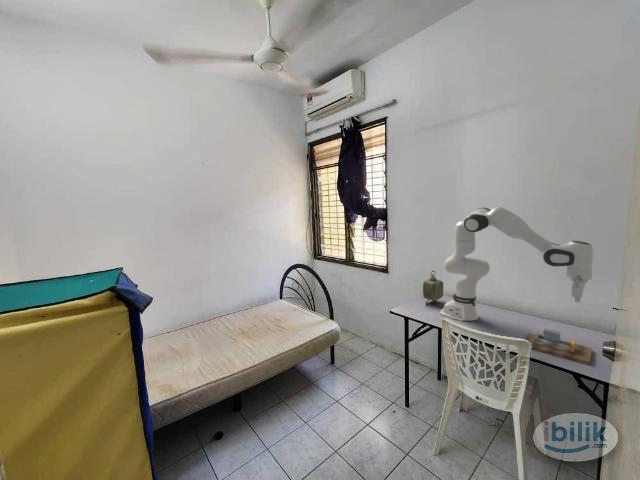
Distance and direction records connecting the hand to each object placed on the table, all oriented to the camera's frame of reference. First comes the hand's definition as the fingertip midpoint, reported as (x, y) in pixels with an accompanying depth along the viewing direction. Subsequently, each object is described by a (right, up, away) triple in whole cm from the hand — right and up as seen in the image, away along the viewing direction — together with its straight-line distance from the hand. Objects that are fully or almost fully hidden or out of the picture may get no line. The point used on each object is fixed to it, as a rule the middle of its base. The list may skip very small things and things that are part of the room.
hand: (577, 301), depth 130 cm
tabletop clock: (-41, -18, +70) cm, 83 cm away
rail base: (-10, -24, +1) cm, 26 cm away
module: (-11, -22, +2) cm, 25 cm away
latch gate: (-6, -22, -3) cm, 23 cm away
